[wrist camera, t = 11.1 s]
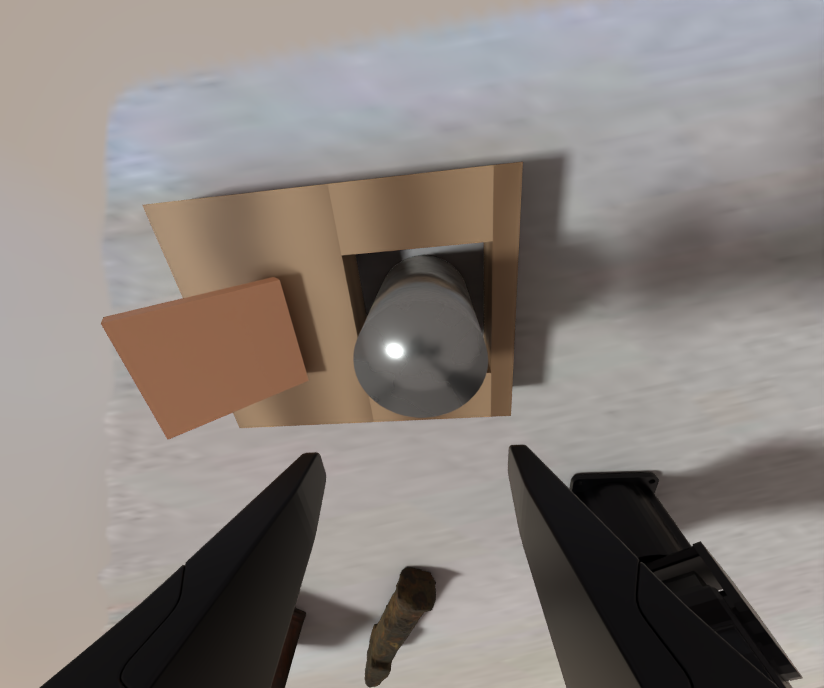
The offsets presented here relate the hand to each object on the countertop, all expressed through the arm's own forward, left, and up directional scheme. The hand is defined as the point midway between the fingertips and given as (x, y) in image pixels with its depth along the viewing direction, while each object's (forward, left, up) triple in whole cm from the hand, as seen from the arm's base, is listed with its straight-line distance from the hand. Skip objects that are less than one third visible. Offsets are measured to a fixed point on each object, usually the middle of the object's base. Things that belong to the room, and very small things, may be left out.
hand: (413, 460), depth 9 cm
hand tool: (+6, +38, -14) cm, 41 cm away
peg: (0, 0, -13) cm, 13 cm away
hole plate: (+4, 0, -13) cm, 14 cm away
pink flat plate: (+10, 0, -8) cm, 13 cm away
